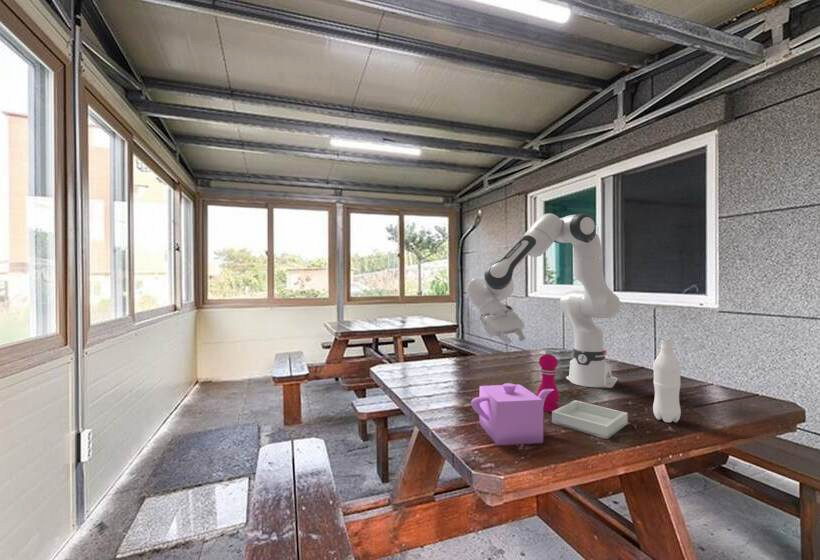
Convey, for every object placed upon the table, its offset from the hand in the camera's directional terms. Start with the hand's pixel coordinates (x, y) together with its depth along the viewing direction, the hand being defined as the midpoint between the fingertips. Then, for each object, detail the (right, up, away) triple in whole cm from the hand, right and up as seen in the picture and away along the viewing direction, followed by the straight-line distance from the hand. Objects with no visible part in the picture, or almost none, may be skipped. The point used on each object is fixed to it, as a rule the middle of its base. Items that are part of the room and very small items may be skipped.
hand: (516, 341), depth 137 cm
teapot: (-9, -22, -29) cm, 37 cm away
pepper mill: (+8, -22, -9) cm, 25 cm away
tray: (+16, -21, -22) cm, 35 cm away
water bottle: (+42, -22, -19) cm, 51 cm away
